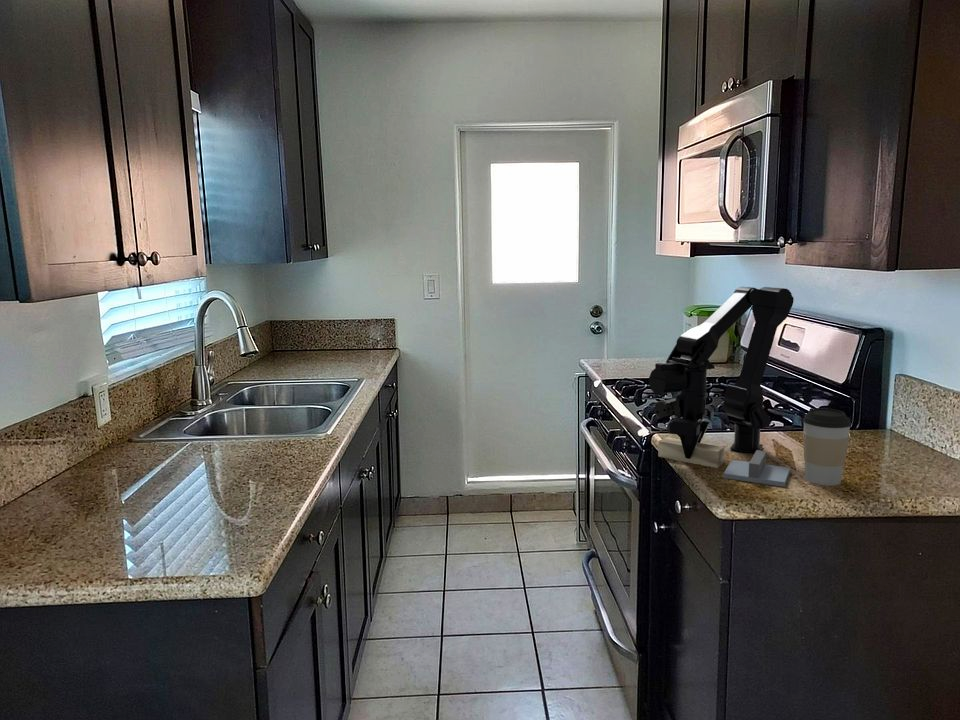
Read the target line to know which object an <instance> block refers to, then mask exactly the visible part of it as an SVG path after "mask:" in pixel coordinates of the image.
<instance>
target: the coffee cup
mask: <svg viewBox="0 0 960 720" xmlns="http://www.w3.org/2000/svg"><path fill="white" fill-rule="evenodd" d="M802 422H803V431H802V435H803V437H802V440H803V459H804V478H805V480H806V481H807V482H809V483H811V484H815V485H821V486H827V487H829V486H839V485H840V484H841V482H842V478H843V471H844V465H845V463H846V457H847V454H848V453H847V452H848V448H849V442H850V428H851V426H852V422H851V418H850V417H848V416H847V415H846V413H845V412H844V411H841V410H840V409H835V408H834V409H833V408H824V407H822V408H821V407H820V408H813V407H810V408H809V410H808V413H805V414H804V416H803V419H802Z"/></svg>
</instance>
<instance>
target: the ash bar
mask: <svg viewBox="0 0 960 720" xmlns="http://www.w3.org/2000/svg"><path fill="white" fill-rule="evenodd" d="M657 448H658V449H657V450H658V454H657V455H658V457H659V458H664V459H669V460H674V461H679V462H685V463H689V464H695V465H699V464H700V466H705V467H709V466H710V467H709V468H714V467H715V469H718V468H719V467H721V466H723V465H724V464H725V447H724V446H720V445H713V444H708V443H704V442H702V443H701V442H700V443H697V445H696V447H695V449H694V452H693V454H692V456H691V458H690V459H688V458H685V454H684V450H683V446H682V443H681V439H680V438H674V437H668V436H666V437H664V438H661V439H660V440H658V447H657Z"/></svg>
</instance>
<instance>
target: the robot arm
mask: <svg viewBox="0 0 960 720" xmlns="http://www.w3.org/2000/svg"><path fill="white" fill-rule="evenodd" d="M794 300H795V299H794V296H793V294H792V292H791V291H790V289H788V288H781V287H770V286H769V287H768V286H763V287H761V288H756V287H751V286H739V287H737V288H736V289H735V290H734V291H733V294H732V295H731V296H729V297H728V299H727V300H726V301H725V302H723V304H722V305H721V306H719V307H718V308H717V310H715V311H714V312H713V313H712V314H711V315H710V316H709V317H708V318H706V320H705V321H703V323H701V324H699V325H697V326H694V327H692V328H689V329H688V330H686V331H685V332H684V333H682V334H681V335H680V336H678V338H677V339H676V344H675V345H674V347H673V349H672V350H671V352H670V354H669V355H668V358H667V359H666V360H665V362H664V363H662V362H658V363H655V364H654V365H655V366H654V367H655V368H653V370H651V372H650V374H649V377H648V384H649V387H650V389H651V391H652V393H654V394H655V395H665V394H673V393H677V394H676V395H675V397H674V398H670V399H666V400H665V399H662V400H660V401H659V400H657V401H656V402H655V404H654V405H653V406H652V410H653V411H652V414H654V415H655V416H656V419H658V420H660V419H662V418H664V417H668V416H674V418H673V420H671V421H670V422H669V423H668V424H667V433H668V435H669V434H670V435H677V436H678V437H679V439H680V440H681V443H682V446H683V450H684V454H685V458H688V459H690V458H691V456H692V454H693V452H694V449H695V447H696V445H697V443H701V442H702V439H703V438H704V435H705V434H706V431H707V430H708V428H709V426H710V423H711V422H710V421H711V420H712V419H714V417H715V416H714V415H715V412H714V410H715V409H714V408H713V407H712V406H711V405H707V404H706V399H708V397H709V396H708V395H709V393H708V392H707V374H708V372H707V371H708V370H714V369H715V365H714V364H712V363H711V361H710V360H709V359H710V358H711V357H712V355H713V354H714V353H715V351H716V350H717V349H718V347H719V341H720V339H721V337H723V335H724V334H725V333H726V332H727V331H729V329H730V328H731V327H732V326H733V325H735V324H736V323H737V321H738V320H739V319H741V317H743V316H744V315H745V314H746V312H747V311H748V310H750V309H751V308H752V309H751V312H752V315H753V319H754V325H753V330H752V333H751V336H750V339H749V343H748V347H747V350H746V353H745V357H744V360H743V364H742V367H741V370H740V373H739V377H738V380H737V381H736V382H735V383H734V384H733V385H732V384H727V386H726V388H725V392H724V397H723V398H722V400H721V401H722V402H723V404H722V409H723V410H724V413H725V415H726V420H727V422H731V423H734V440H733V441H734V442H733V443H732V445H731V446H730V448H729V449H730V451H736V452H742V453H752V454H755V452H756V450H760V451H762V449H763V448H764V447H763V446H764V445H763V444H761V430H763V429H766V428H768V427H769V426H770V423H771V419H772V418H771V417H770V416H769V414H768V413H767V412H766V411H765V409H764V408H763V404H764V400H765V399H764V395H763V394H764V393H763V391H762V387H761V384H762V382H763V378H764V374H765V371H766V367H767V364H768V360H769V357H770V353H771V350H772V347H773V343H774V341H775V337H776V333H777V330H778V327H779V326H780V325H781V324H782V323H783V322H784V321H785V320H787V318H788V317H789V314H790V312H791V310H792V307H793V304H794ZM705 417H707V418H708V420H710V421H706V420H705V419H704V418H705Z"/></svg>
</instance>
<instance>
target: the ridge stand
mask: <svg viewBox="0 0 960 720" xmlns="http://www.w3.org/2000/svg"><path fill="white" fill-rule="evenodd" d="M766 463H767V451H766V450H761V451H760V450H756V452H755V453H753V456H752V458H751V459H750V461H745V460H744V461H743V460H736V459H731V461H730V463H729V464H728V465H727V467H726V469H725V471H724V472H723V477H722V478H724V479H729V480H736V481H742V482H750V483H757V484H763V485H770V486H774V487H775V486H776V487H782V488H785V487H786V483H787V482H788V479H789V476H790V474H791V467H789V466H788V467H787V466H780V465H773V464H766Z"/></svg>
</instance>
